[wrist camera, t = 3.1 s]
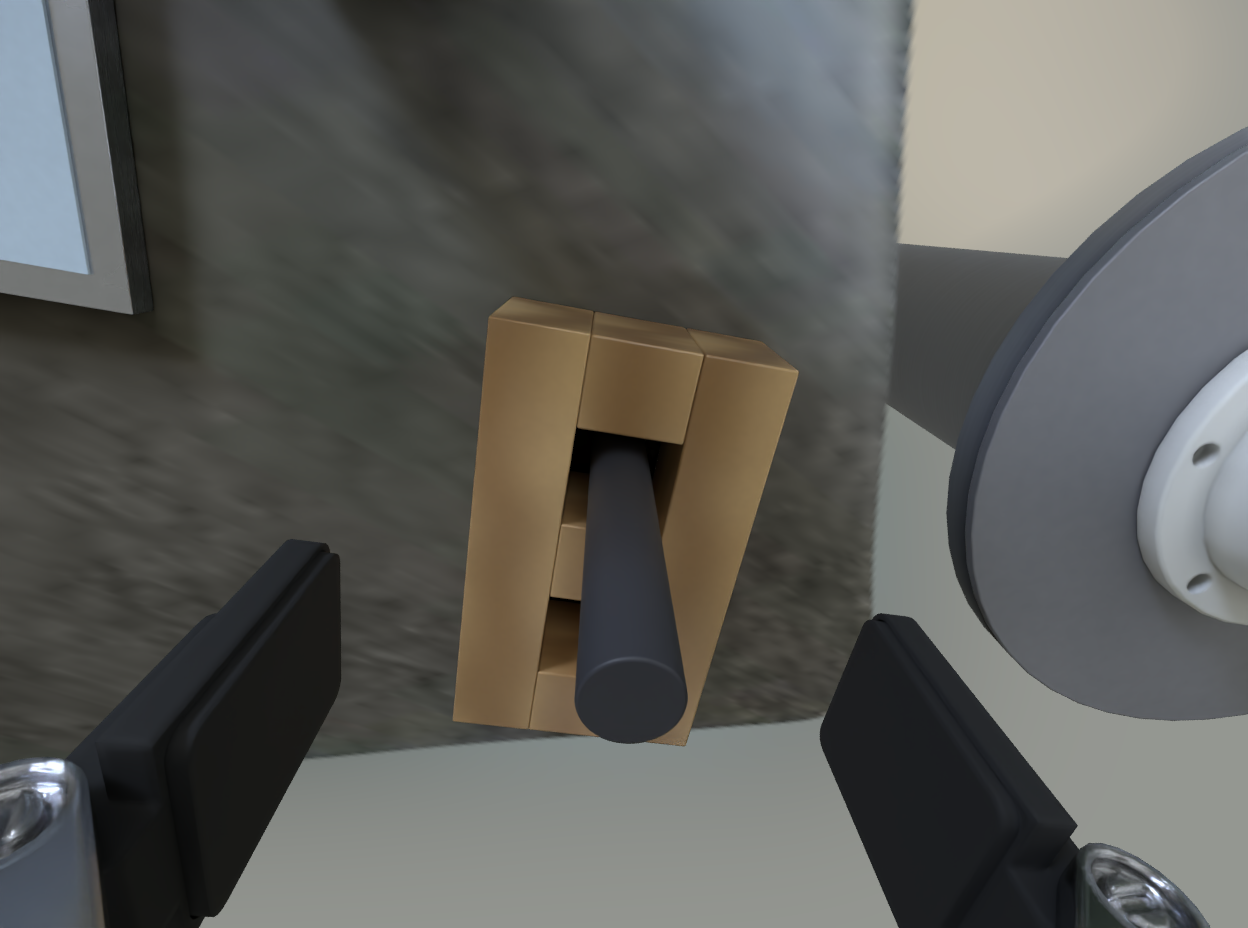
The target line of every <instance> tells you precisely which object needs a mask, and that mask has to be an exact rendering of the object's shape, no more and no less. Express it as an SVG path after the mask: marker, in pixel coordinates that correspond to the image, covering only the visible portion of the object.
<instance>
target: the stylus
mask: <svg viewBox="0 0 1248 928" xmlns="http://www.w3.org/2000/svg"><path fill="white" fill-rule="evenodd" d="M574 702H575V708H576V712H577V714H578V716H579V718H580V720H581V721H582V723H583V724H584V725H585V726H586V728H588V729H589V730H590V731H591V732H592V733H594V734H595V735H597V736H599V737H601V738H603V739H606V740H609V741H612V742H617V743H626V744H631V743H632V744H634V743H642V742H647V741H651V740H654V739H656V738H659V737H661V736H663V735H664V734H666V733H668V732H669V731H670V730H672V729H673V728H674V727H675V726H676V725H677V724H678V723H679V721H680V720H681V718H682V717H683V715H684V712H685V710H686V707H687V703H688V692H687V686H686V680H685V674H684V668H683V662H682V656H681V651H680V645H679V639H678V633H677V627H676V621H675V615H674V609H673V604H672V598H671V592H670V586H669V580H668V574H667V568H666V562H665V556H664V551H663V545H662V539H661V533H660V527H659V521H658V515H657V509H656V504H655V498H654V492H653V486H652V480H651V474H650V468H649V462H648V457H647V451H646V445H645V440H644V439H642V438H636V437H629V436H623V435H617V434H611V433H605V432H598V431H597V432H596V433H595V435H594V437H593V439H592V445H591V460H590V475H589V490H588V505H587V519H586V534H585V549H584V564H583V579H582V593H581V608H580V623H579V638H578V653H577V667H576V682H575V697H574Z"/></svg>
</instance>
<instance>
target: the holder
mask: <svg viewBox="0 0 1248 928" xmlns="http://www.w3.org/2000/svg"><path fill="white" fill-rule="evenodd" d="M798 374H799V371H798V370H796V369H795V368H794V367H793V366H791V365H790V364H789V363H788V362H786V361H785V360H784V359H783V358H781V357H780V356H779V355H778V354H776V353H775V352H774V351H773V350H771V349H770V348H769V347H768V346H766V345H765V344H764V343H763V342H761V341H756V340H750V339H745V338H739V337H734V336H728V335H723V334H717V333H712V332H706V331H701V330H695V329H689V328H688V329H685V328H684V327H678V326H673V325H667V324H662V323H656V322H651V321H645V320H640V319H634V318H629V317H623V316H618V315H612V314H607V313H601V312H595V313H594V312H593V311H591V310H585V309H580V308H574V307H569V306H563V305H558V304H552V303H547V302H541V301H536V300H530V299H525V298H519V297H512V298H511V299H509V300H508V301H507V302H506V303H505V304H503V305H502V306H501V307H500V308H499V309H497V310H496V311H495V312H494V313H493V314H491V315H490V316H489V318H488V329H487V340H486V352H485V363H484V374H483V385H482V397H481V408H480V419H479V430H478V442H477V453H476V464H475V475H474V487H473V498H472V509H471V520H470V532H469V543H468V554H467V565H466V577H465V588H464V599H463V610H462V622H461V633H460V644H459V655H458V666H457V678H456V689H455V700H454V711H453V721H456V722H465V723H474V724H483V725H492V726H501V727H510V728H519V729H528V728H529V729H531V730H540V731H549V732H558V733H567V734H576V735H585V736H594V737H599V736H597V735H595V734H594V733H592V732H591V731H590V730H589V729H588V728H586V726H585V725H584V724H583V723H582V721H581V720H580V718H579V716H578V714H577V712H576V708H575V702H574V697H575V682H576V667H577V653H578V638H579V623H580V608H581V604H579V603H572V602H564V601H557V600H549V596H551V597H557V598H564V599H572V600H579V601H581V593H582V579H583V564H584V549H585V534H586V519H587V505H588V490H589V475H590V474H588V473H582V472H575V471H569V470H570V463H571V457H572V451H573V444H574V438H575V432H576V425H577V427H578V428H580V429H586V430H592V431H598V432H605V433H611V434H617V435H623V436H629V437H636V438H642V439H648V440H654V441H660V442H661V444H660V449H659V453H658V458H657V462H656V467H655V472H654V476H653V481H652V486H653V492H654V498H655V504H656V509H657V515H658V521H659V527H660V533H661V539H662V545H663V551H664V556H665V562H666V568H667V574H668V580H669V586H670V592H671V598H672V604H673V609H674V615H675V621H676V627H677V633H678V639H679V645H680V651H681V656H682V662H683V668H684V674H685V680H686V686H687V692H688V703H687V707H686V710H685V712H684V715H683V717H682V718H681V720H680V721H679V723H678V724H677V725H676V726H675V727H674V728H673V729H672V730H670V731H669V732H668V733H666V734H664V735H663V736H661V737H659V738H656V739H654V740H651V741H647V742H650V743H659V744H668V745H677V746H685V745H686V743H687V740H688V736H689V733H690V730H691V726H692V723H693V720H694V717H695V713H696V710H697V707H698V703H699V700H700V697H701V694H702V690H703V687H704V684H705V680H706V677H707V674H708V671H709V667H710V664H711V661H712V657H713V654H714V651H715V647H716V644H717V641H718V638H719V634H720V631H721V628H722V624H723V621H724V618H725V615H726V611H727V608H728V605H729V601H730V598H731V595H732V592H733V588H734V585H735V582H736V578H737V575H738V572H739V569H740V565H741V562H742V559H743V555H744V552H745V549H746V545H747V542H748V539H749V536H750V532H751V529H752V526H753V522H754V519H755V516H756V513H757V509H758V506H759V503H760V499H761V496H762V493H763V490H764V486H765V483H766V480H767V476H768V473H769V470H770V466H771V463H772V460H773V457H774V453H775V450H776V447H777V443H778V440H779V437H780V434H781V430H782V427H783V424H784V420H785V417H786V414H787V411H788V407H789V404H790V401H791V397H792V394H793V391H794V388H795V384H796V381H797V378H798Z"/></svg>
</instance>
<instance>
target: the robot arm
mask: <svg viewBox="0 0 1248 928" xmlns="http://www.w3.org/2000/svg"><path fill="white" fill-rule="evenodd" d="M1137 539H1138V542H1139V546H1140V550H1141V553H1142V557H1143V561H1144V562H1145V564H1146V565H1147V567H1148V569H1149V570H1150V572H1151V574H1152V575H1153V577H1154V579H1155V580H1156V581H1157V582H1158V583H1159V584H1161V585H1162V586H1163V587H1164V588H1165V589H1166V590H1167V591H1168V592H1169V593H1171V594H1172V595H1173V596H1175V597H1176V598H1178V599H1179V600H1181V601H1183V602H1184V603H1186V604H1187V605H1189V606H1191V607H1192V608H1194V609H1195V610H1197V611H1198V612H1200V613H1201V614H1204V615H1207V616H1210V617H1212V618H1215V619H1218V620H1221V621H1223V622H1228V623H1235V624H1242V625H1248V349H1247V350H1246V351H1245V352H1243V353H1242V354H1240V355H1239V356H1238V357H1236V358H1235V359H1233V360H1232V361H1231V362H1230V363H1229V364H1228V365H1227V366H1226V367H1225V368H1224V369H1222V370H1221V371H1220V372H1219V373H1218V374H1217V375H1216V376H1215V377H1214V378H1213V379H1211V380H1210V381H1209V382H1208V383H1207V384H1206V385H1205V386H1204V387H1203V388H1202V389H1201V390H1200V391H1199V392H1198V393H1197V395H1196V396H1195V397H1194V398H1193V399H1192V401H1191V402H1190V403H1189V404H1188V405H1187V406H1186V408H1185V409H1184V410H1183V411H1182V412H1181V414H1180V415H1179V416H1178V417H1177V418H1176V420H1175V421H1174V423H1173V425H1172V426H1171V428H1170V429H1169V431H1168V433H1167V434H1166V436H1165V437H1164V439H1163V440H1162V442H1161V444H1160V445H1159V447H1158V448H1157V450H1156V453H1155V455H1154V457H1153V460H1152V462H1151V464H1150V467H1149V469H1148V471H1147V474H1146V476H1145V478H1144V481H1143V486H1142V490H1141V495H1140V499H1139V504H1138V508H1137ZM340 682H341V611H340V558H339V555H338V554H335V553H330V549H329V546H328V545H327V544H326V543H318V542H310V541H302V540H294V539H290V540H287V541H286V542H285V543H284V544H283V545H282V546H281V547H280V548H279V549H278V550H277V551H276V552H275V553H274V554H273V555H272V556H271V557H270V558H269V559H268V560H267V562H266V563H265V564H264V565H263V566H262V567H261V568H260V569H259V570H258V571H257V572H256V573H255V574H254V575H253V576H252V577H251V578H250V579H249V580H248V581H247V582H246V584H245V585H244V586H243V587H242V588H241V589H240V590H239V591H238V592H237V593H236V594H235V595H234V596H233V597H232V598H231V599H230V600H229V601H228V602H227V603H226V605H225V606H224V607H223V608H222V609H221V610H220V611H219V612H218V613H217V614H212V615H209V616H206V617H205V618H204V619H203V620H201V621H200V622H199V623H198V624H197V625H196V626H195V627H194V628H193V629H192V630H191V631H190V632H189V633H188V634H187V635H186V636H185V637H184V638H183V639H182V640H181V641H180V642H179V643H178V644H177V645H176V646H175V647H174V648H173V649H172V650H171V651H170V652H169V653H168V655H167V656H166V657H165V658H164V659H163V660H162V661H161V662H160V663H159V664H158V665H157V666H156V667H155V668H154V669H153V670H152V671H151V672H150V673H149V674H148V675H147V676H146V677H145V678H144V679H143V680H142V681H141V682H140V683H139V684H138V685H137V686H136V687H135V688H134V689H133V690H132V691H131V692H130V693H129V694H128V695H127V696H126V698H125V699H124V700H123V701H122V702H121V703H120V704H119V705H118V706H117V707H116V708H115V709H114V710H113V711H112V712H111V713H110V714H109V715H108V716H107V717H106V718H105V719H104V720H103V721H102V722H101V723H100V724H99V725H98V726H97V727H96V728H95V729H94V730H93V731H92V732H91V733H90V734H89V735H88V736H87V737H86V738H85V739H84V740H83V742H82V743H81V744H80V745H79V746H78V747H77V748H76V749H75V750H74V751H73V752H72V753H71V754H70V755H69V756H68V757H67V758H66V759H59V758H53V757H39V758H28V759H20V760H17V761H13V762H9V763H5V764H1V765H0V928H199V926H200V925H201V923H202V921H203V919H204V917H215V916H216V915H218V913H219V912H220V911H221V910H222V909H223V907H224V905H225V904H226V902H227V900H228V899H229V897H230V895H231V893H232V891H233V889H234V887H235V885H236V884H237V882H238V880H239V878H240V876H241V874H242V873H243V871H244V869H245V867H246V865H247V863H248V861H249V859H250V858H251V856H252V854H253V852H254V850H255V848H256V846H257V845H258V843H259V841H260V839H261V837H262V835H263V833H264V832H265V830H266V828H267V826H268V824H269V822H270V820H271V819H272V817H273V815H274V813H275V811H276V809H277V807H278V805H279V804H280V802H281V800H282V798H283V796H284V794H285V793H286V791H287V789H288V787H289V785H290V783H291V781H292V780H293V778H294V776H295V774H296V772H297V770H298V768H299V767H300V765H301V763H302V761H303V759H304V757H305V755H306V753H307V752H308V750H309V748H310V746H311V744H312V742H313V740H314V739H315V737H316V735H317V733H318V731H319V729H320V727H321V726H322V724H323V722H324V720H325V718H326V716H327V714H328V713H329V711H330V709H331V707H332V705H333V703H334V701H335V699H336V697H337V694H338V691H339V687H340ZM820 742H821V746H822V749H823V752H824V754H825V756H826V759H827V761H828V763H829V766H830V768H831V770H832V773H833V775H834V777H835V780H836V782H837V784H838V787H839V789H840V791H841V794H842V796H843V798H844V801H845V803H846V805H847V808H848V810H849V812H850V814H851V817H852V819H853V822H854V824H855V826H856V829H857V831H858V834H859V836H860V838H861V841H862V843H863V845H864V847H865V850H866V852H867V854H868V857H869V859H870V862H871V864H872V866H873V869H874V871H875V873H876V876H877V878H878V880H879V883H880V885H881V887H882V890H883V892H884V894H885V897H886V899H887V901H888V904H889V906H890V908H891V911H892V913H893V915H894V918H895V920H896V922H897V925H898V927H899V928H1210V925H1209V924H1208V923H1207V921H1206V920H1205V918H1204V917H1203V915H1202V914H1201V913H1200V911H1199V910H1198V908H1197V907H1196V906H1195V905H1194V904H1193V903H1192V901H1191V900H1190V899H1189V898H1188V897H1187V896H1186V895H1185V894H1184V893H1183V892H1182V891H1181V890H1180V889H1179V888H1178V887H1177V886H1176V885H1175V884H1174V883H1172V882H1171V881H1170V880H1169V879H1167V878H1166V877H1165V876H1164V875H1163V874H1162V873H1161V872H1159V871H1158V870H1156V869H1155V868H1154V867H1152V866H1151V865H1149V864H1148V863H1146V862H1144V861H1143V860H1141V859H1140V858H1138V857H1136V856H1134V855H1132V854H1130V853H1128V852H1126V851H1124V850H1122V849H1120V848H1117V847H1114V846H1110V845H1107V844H1103V843H1088V844H1087V845H1085V846H1084V847H1082V848H1080V850H1079V849H1078V848H1077V846H1076V845H1075V844H1074V842H1073V841H1072V840H1071V838H1070V836H1071V835H1072V833H1073V832H1074V830H1075V829H1076V828H1077V824H1076V823H1075V821H1074V820H1073V819H1072V818H1071V817H1070V815H1069V814H1068V813H1067V812H1066V810H1065V809H1064V808H1063V806H1062V805H1061V804H1060V803H1059V801H1058V800H1057V799H1056V797H1054V795H1053V794H1052V793H1051V791H1050V790H1049V789H1048V788H1047V786H1046V785H1045V784H1044V782H1043V781H1042V780H1041V779H1040V777H1039V776H1038V775H1037V774H1036V772H1035V771H1034V770H1033V769H1032V767H1031V766H1030V765H1029V763H1027V761H1026V760H1025V759H1024V757H1023V756H1022V755H1021V754H1020V752H1019V751H1018V750H1017V748H1016V747H1015V746H1014V745H1013V743H1012V742H1011V741H1010V740H1009V738H1008V737H1007V736H1006V734H1005V733H1004V732H1003V731H1002V729H1001V728H1000V727H999V726H998V724H996V722H995V721H994V720H993V718H992V717H991V716H990V714H989V713H988V712H987V711H986V710H985V708H984V707H983V705H982V704H981V703H980V702H979V700H978V699H977V698H976V697H975V695H974V694H973V693H972V692H971V690H970V689H969V688H968V687H967V685H966V684H965V683H964V682H963V680H962V679H961V678H960V677H959V675H958V674H957V673H956V671H955V670H954V669H953V668H952V666H951V665H950V664H949V663H948V662H947V660H946V659H945V658H944V656H943V655H942V654H941V653H940V651H939V650H938V649H937V648H936V646H935V645H934V644H933V642H932V641H931V640H930V639H929V637H928V636H927V635H926V634H925V632H924V631H923V630H922V629H921V627H920V626H919V625H918V624H917V622H916V621H915V620H914V619H912V618H910V617H906V616H898V615H890V614H882V613H880V614H877V615H876V616H874V617H873V619H872V620H868V621H866V622H865V623H864V625H863V627H862V629H861V632H860V634H859V636H858V639H857V641H856V644H855V646H854V648H853V651H852V653H851V656H850V658H849V660H848V663H847V665H846V667H845V670H844V672H843V675H842V677H841V679H840V682H839V684H838V687H837V689H836V691H835V694H834V696H833V699H832V701H831V703H830V706H829V708H828V711H827V713H826V715H825V718H824V720H823V723H822V725H821V729H820Z"/></svg>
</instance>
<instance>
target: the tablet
mask: <svg viewBox="0 0 1248 928" xmlns="http://www.w3.org/2000/svg"><path fill="white" fill-rule="evenodd" d="M0 293H5V294H11V295H17V296H23V297H29V298H35V299H41V300H47V301H53V302H59V303H65V304H70V305H76V306H82V307H88V308H94V309H100V310H106V311H112V312H118V313H124V314H130V315H134V314H139V313H144V312H149V311H153V302H152V294H151V287H150V279H149V271H148V264H147V256H146V248H145V241H144V233H143V225H142V218H141V210H140V202H139V195H138V187H137V179H136V172H135V164H134V156H133V149H132V141H131V133H130V126H129V118H128V110H127V103H126V95H125V87H124V80H123V72H122V64H121V57H120V49H119V41H118V34H117V26H116V18H115V11H114V3H113V0H0Z"/></svg>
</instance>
